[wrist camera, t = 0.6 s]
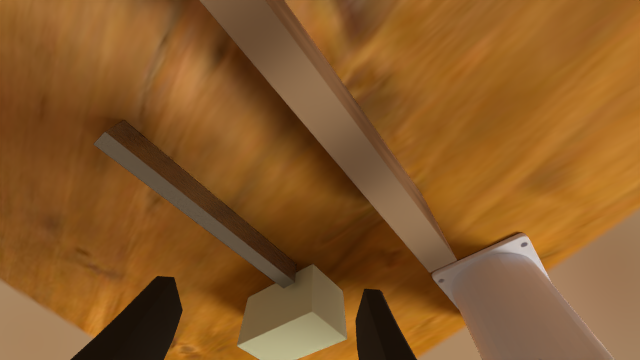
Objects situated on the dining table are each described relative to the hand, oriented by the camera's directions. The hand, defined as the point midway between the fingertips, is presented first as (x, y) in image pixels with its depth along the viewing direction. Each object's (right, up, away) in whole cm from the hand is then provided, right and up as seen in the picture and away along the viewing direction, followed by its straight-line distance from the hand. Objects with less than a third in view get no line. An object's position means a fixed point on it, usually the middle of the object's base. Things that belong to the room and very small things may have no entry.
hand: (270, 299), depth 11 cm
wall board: (+4, +9, +6) cm, 11 cm away
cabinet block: (0, -6, +15) cm, 16 cm away
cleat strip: (-5, +3, +10) cm, 11 cm away
